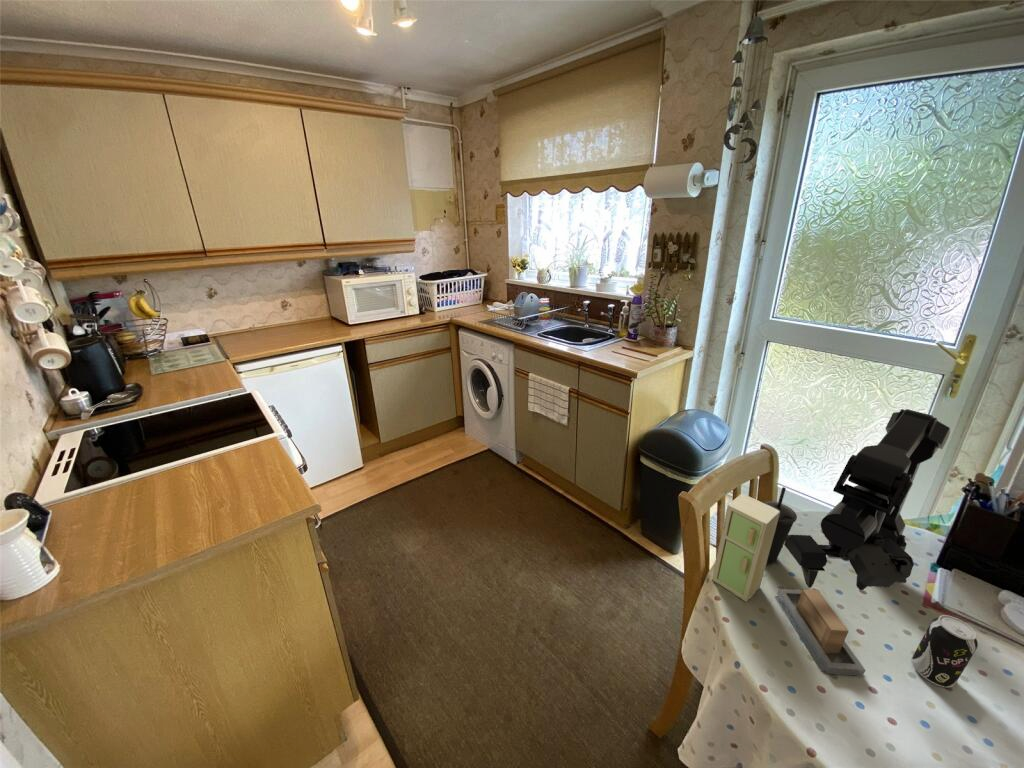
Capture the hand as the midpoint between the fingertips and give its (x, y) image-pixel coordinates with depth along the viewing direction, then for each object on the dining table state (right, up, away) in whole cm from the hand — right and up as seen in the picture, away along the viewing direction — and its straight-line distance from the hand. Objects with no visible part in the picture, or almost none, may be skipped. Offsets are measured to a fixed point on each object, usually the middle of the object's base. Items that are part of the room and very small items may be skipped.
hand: (833, 587), depth 77 cm
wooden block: (0, -11, +4) cm, 11 cm away
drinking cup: (+1, -4, +23) cm, 23 cm away
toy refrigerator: (-11, -7, +15) cm, 20 cm away
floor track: (0, -11, +4) cm, 12 cm away
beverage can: (+15, -14, -3) cm, 21 cm away
